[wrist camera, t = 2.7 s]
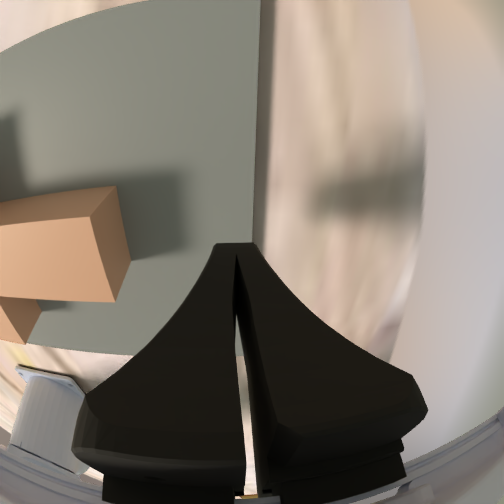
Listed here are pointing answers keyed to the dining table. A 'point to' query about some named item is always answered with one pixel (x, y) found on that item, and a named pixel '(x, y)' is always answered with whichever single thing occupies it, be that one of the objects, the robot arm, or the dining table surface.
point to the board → (138, 148)
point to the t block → (59, 254)
